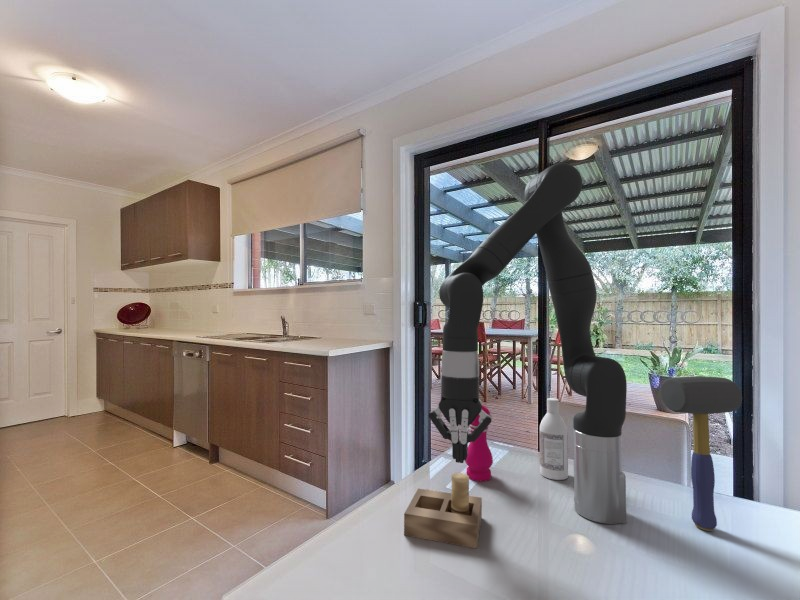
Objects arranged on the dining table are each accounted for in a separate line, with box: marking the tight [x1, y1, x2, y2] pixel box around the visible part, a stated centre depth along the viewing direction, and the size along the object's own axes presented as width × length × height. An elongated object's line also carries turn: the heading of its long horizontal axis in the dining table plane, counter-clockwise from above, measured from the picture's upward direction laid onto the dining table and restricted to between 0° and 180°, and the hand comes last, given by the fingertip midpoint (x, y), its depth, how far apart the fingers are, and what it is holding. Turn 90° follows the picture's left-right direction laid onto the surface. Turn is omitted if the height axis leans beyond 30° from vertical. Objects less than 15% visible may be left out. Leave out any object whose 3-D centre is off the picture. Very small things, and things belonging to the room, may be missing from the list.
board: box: [403, 488, 483, 549], centre depth 74 cm, size 14×11×4 cm
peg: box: [450, 472, 470, 515], centre depth 73 cm, size 4×4×10 cm
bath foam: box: [538, 397, 569, 481], centre depth 99 cm, size 7×7×20 cm
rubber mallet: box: [660, 375, 743, 532], centre depth 75 cm, size 12×8×30 cm, turn 95°
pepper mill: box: [464, 398, 494, 482], centre depth 98 cm, size 7×7×20 cm
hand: (459, 461), depth 74 cm, fingers closed
